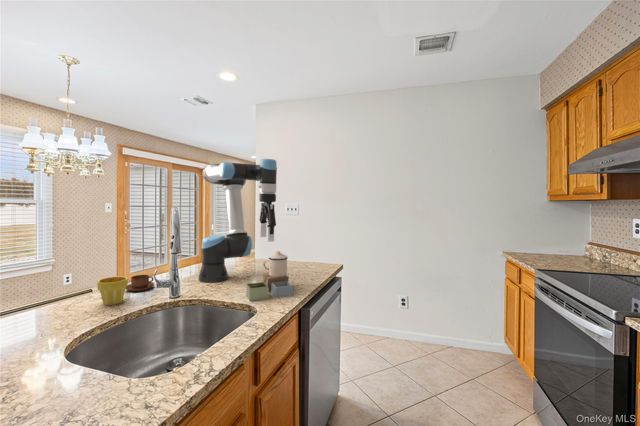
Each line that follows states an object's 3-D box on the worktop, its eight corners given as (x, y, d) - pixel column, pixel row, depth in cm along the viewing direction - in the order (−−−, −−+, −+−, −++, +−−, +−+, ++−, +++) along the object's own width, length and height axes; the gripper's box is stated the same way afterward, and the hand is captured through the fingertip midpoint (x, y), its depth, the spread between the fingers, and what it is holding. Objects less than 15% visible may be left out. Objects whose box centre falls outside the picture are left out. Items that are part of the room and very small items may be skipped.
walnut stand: (263, 287, 148) (263, 273, 147) (282, 285, 152) (282, 271, 151) (267, 293, 138) (267, 278, 138) (288, 291, 142) (288, 276, 142)
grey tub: (271, 293, 139) (271, 282, 138) (287, 291, 142) (287, 281, 142) (275, 298, 131) (275, 287, 131) (292, 296, 134) (293, 285, 134)
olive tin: (246, 297, 133) (246, 283, 133) (264, 295, 136) (264, 282, 136) (249, 302, 126) (249, 288, 125) (268, 300, 129) (268, 286, 129)
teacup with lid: (288, 272, 149) (289, 249, 149) (285, 277, 140) (285, 253, 140) (265, 272, 150) (265, 249, 150) (260, 276, 141) (260, 252, 141)
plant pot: (131, 302, 124) (130, 279, 124) (101, 308, 117) (100, 284, 116) (124, 296, 131) (123, 274, 131) (95, 302, 124) (94, 279, 123)
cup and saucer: (140, 284, 150) (140, 272, 150) (160, 286, 147) (160, 274, 147) (118, 291, 139) (118, 278, 138) (140, 294, 136) (139, 281, 135)
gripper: (253, 192, 146) (253, 235, 148) (266, 193, 124) (265, 244, 125) (268, 193, 150) (267, 234, 151) (284, 194, 127) (282, 243, 129)
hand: (266, 239), depth 138 cm, fingers open, 13 cm apart
